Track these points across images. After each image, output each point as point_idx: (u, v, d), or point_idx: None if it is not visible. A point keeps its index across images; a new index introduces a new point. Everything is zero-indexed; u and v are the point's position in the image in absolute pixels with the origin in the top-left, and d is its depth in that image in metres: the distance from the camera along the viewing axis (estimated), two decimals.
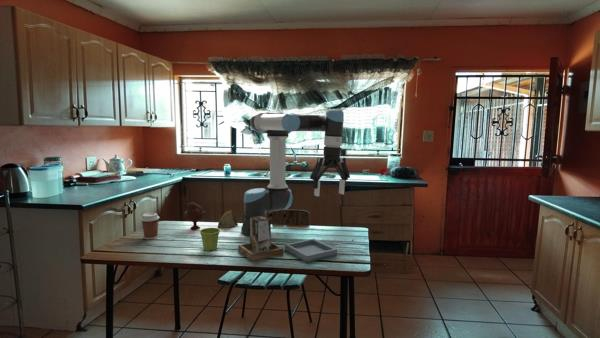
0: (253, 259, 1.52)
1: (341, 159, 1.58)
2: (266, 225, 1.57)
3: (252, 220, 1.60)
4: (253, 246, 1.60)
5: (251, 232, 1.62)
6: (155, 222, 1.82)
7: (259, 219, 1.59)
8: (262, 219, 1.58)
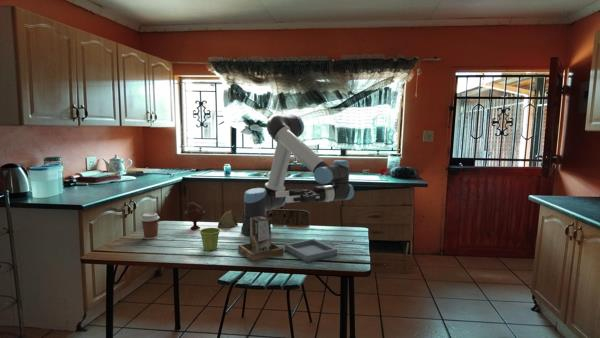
0: (253, 259, 1.52)
1: None
2: (265, 225, 1.57)
3: (252, 220, 1.60)
4: (253, 246, 1.60)
5: (251, 232, 1.62)
6: (155, 222, 1.82)
7: (259, 219, 1.59)
8: (262, 219, 1.58)
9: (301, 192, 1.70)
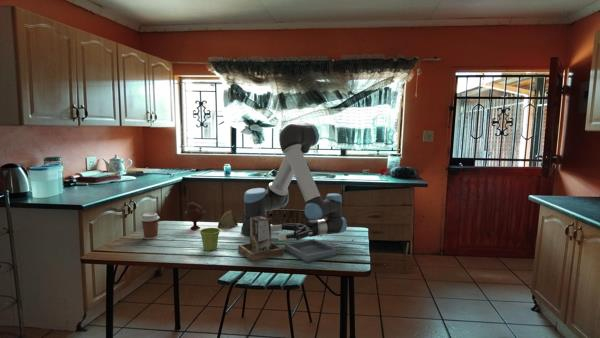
0: (253, 259, 1.52)
1: None
2: (265, 225, 1.57)
3: (252, 220, 1.60)
4: (253, 246, 1.60)
5: (251, 232, 1.62)
6: (155, 222, 1.82)
7: (259, 219, 1.59)
8: (262, 219, 1.58)
9: (294, 226, 1.70)
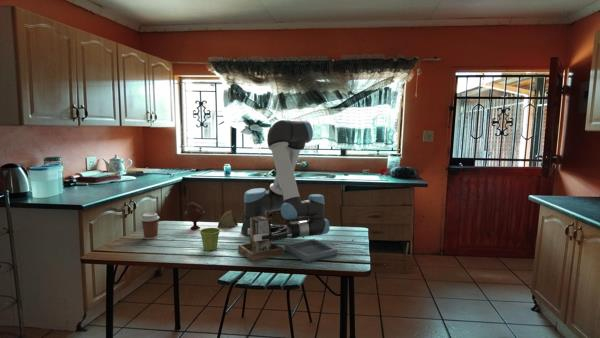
0: (253, 259, 1.52)
1: None
2: (265, 225, 1.57)
3: (252, 220, 1.60)
4: (253, 246, 1.60)
5: (251, 232, 1.62)
6: (155, 222, 1.82)
7: (259, 219, 1.59)
8: (262, 219, 1.58)
9: (275, 228, 1.66)
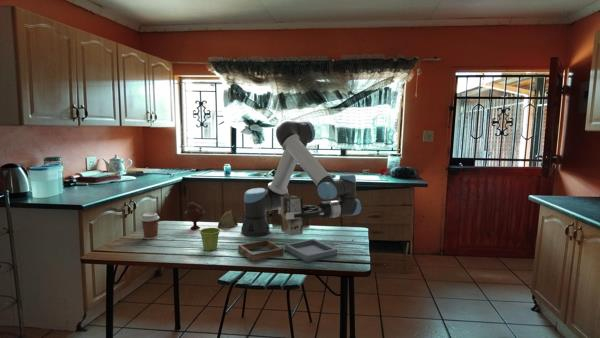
0: (253, 259, 1.52)
1: None
2: (297, 203, 1.54)
3: (283, 199, 1.57)
4: (285, 225, 1.58)
5: (282, 211, 1.59)
6: (155, 222, 1.82)
7: (291, 197, 1.56)
8: (294, 197, 1.55)
9: (306, 208, 1.64)
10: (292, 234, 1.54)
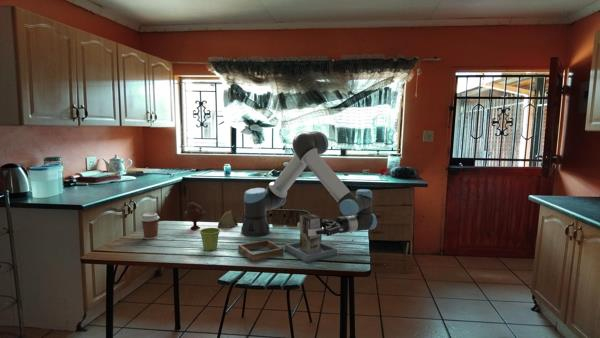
0: (253, 259, 1.52)
1: None
2: (317, 223, 1.57)
3: (303, 218, 1.60)
4: (304, 244, 1.61)
5: (301, 230, 1.62)
6: (155, 222, 1.82)
7: (310, 217, 1.58)
8: (313, 217, 1.58)
9: (324, 223, 1.67)
10: (311, 253, 1.57)
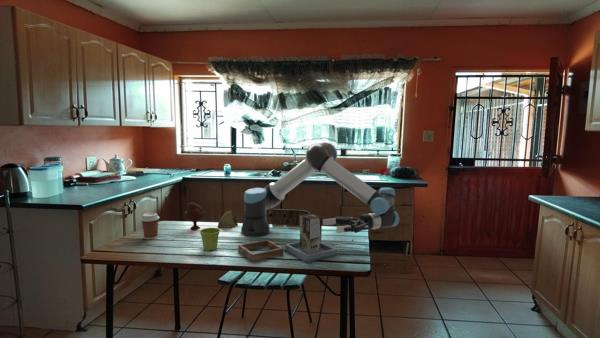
0: (253, 259, 1.52)
1: None
2: (317, 223, 1.57)
3: (303, 218, 1.60)
4: (304, 244, 1.61)
5: (301, 230, 1.62)
6: (155, 222, 1.82)
7: (310, 217, 1.59)
8: (313, 217, 1.58)
9: (348, 220, 1.72)
10: (311, 253, 1.57)
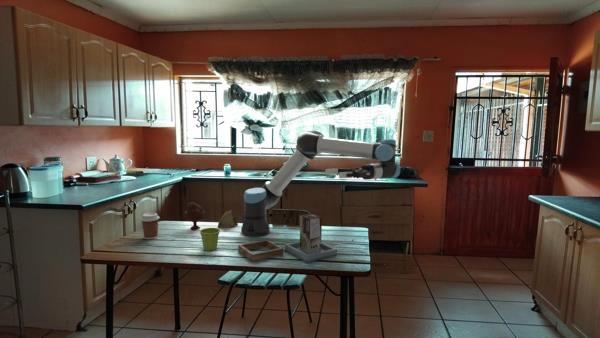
0: (253, 259, 1.52)
1: None
2: (317, 223, 1.57)
3: (303, 218, 1.60)
4: (304, 244, 1.61)
5: (301, 230, 1.62)
6: (155, 222, 1.82)
7: (310, 217, 1.59)
8: (313, 217, 1.58)
9: (350, 170, 1.75)
10: (311, 253, 1.57)
